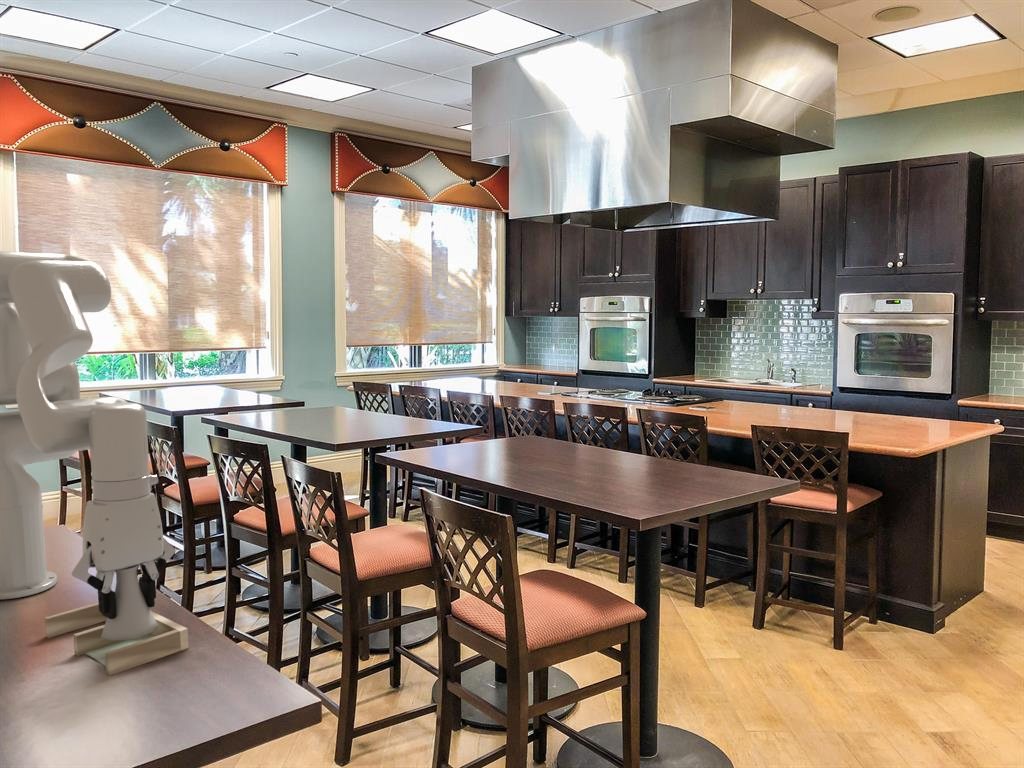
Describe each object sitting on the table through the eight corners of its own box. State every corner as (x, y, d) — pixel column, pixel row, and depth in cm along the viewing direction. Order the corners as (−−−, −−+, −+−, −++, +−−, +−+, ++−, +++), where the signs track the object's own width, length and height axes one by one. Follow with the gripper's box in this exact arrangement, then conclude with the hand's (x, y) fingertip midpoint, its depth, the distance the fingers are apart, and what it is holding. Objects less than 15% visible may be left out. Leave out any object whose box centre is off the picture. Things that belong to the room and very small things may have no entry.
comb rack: (45, 636, 128) (44, 617, 127) (121, 613, 137) (120, 596, 136) (109, 675, 114) (108, 654, 114) (188, 647, 123) (187, 628, 123)
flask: (135, 644, 117) (131, 575, 117) (91, 640, 119) (86, 572, 118) (167, 625, 125) (163, 559, 124) (124, 622, 126) (121, 557, 125)
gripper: (164, 475, 129) (170, 589, 130) (47, 496, 115) (56, 622, 117) (190, 482, 124) (196, 600, 126) (71, 504, 111) (79, 636, 113)
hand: (128, 609), depth 122 cm, fingers closed on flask, 5 cm apart
